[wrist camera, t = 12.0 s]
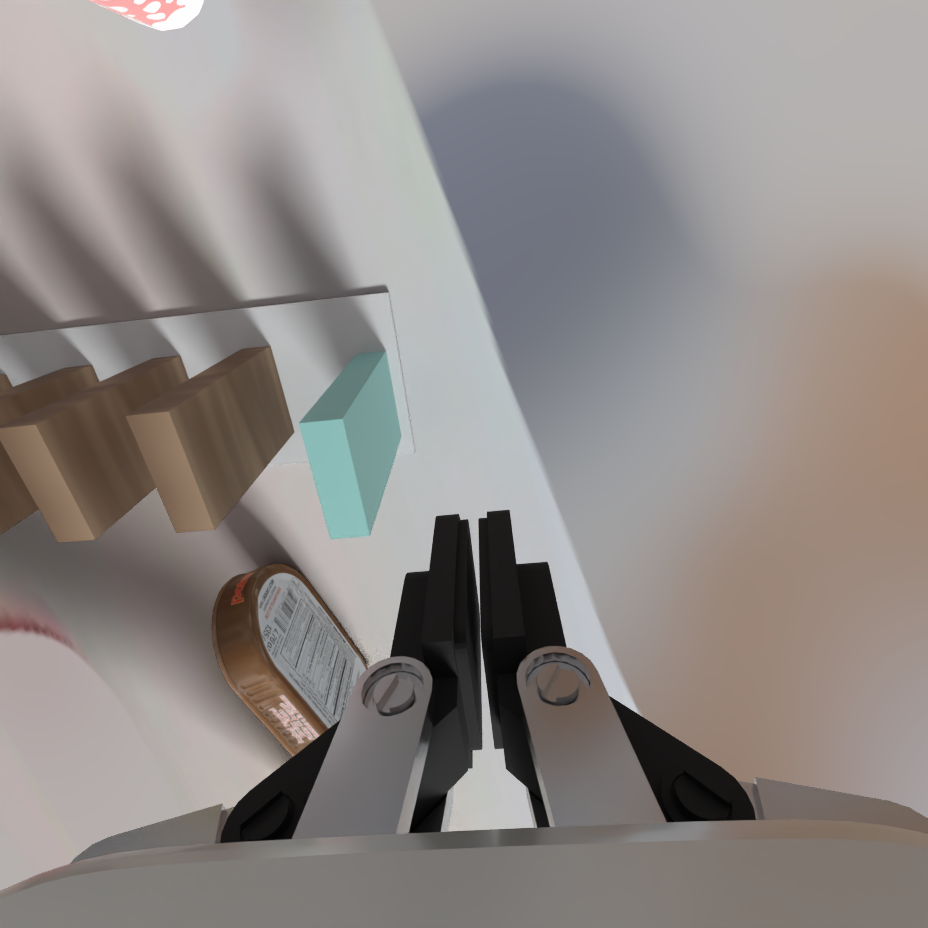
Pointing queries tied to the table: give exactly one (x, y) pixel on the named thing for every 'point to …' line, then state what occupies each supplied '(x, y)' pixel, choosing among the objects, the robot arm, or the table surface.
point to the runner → (232, 350)
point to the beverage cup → (155, 11)
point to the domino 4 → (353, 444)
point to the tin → (284, 653)
